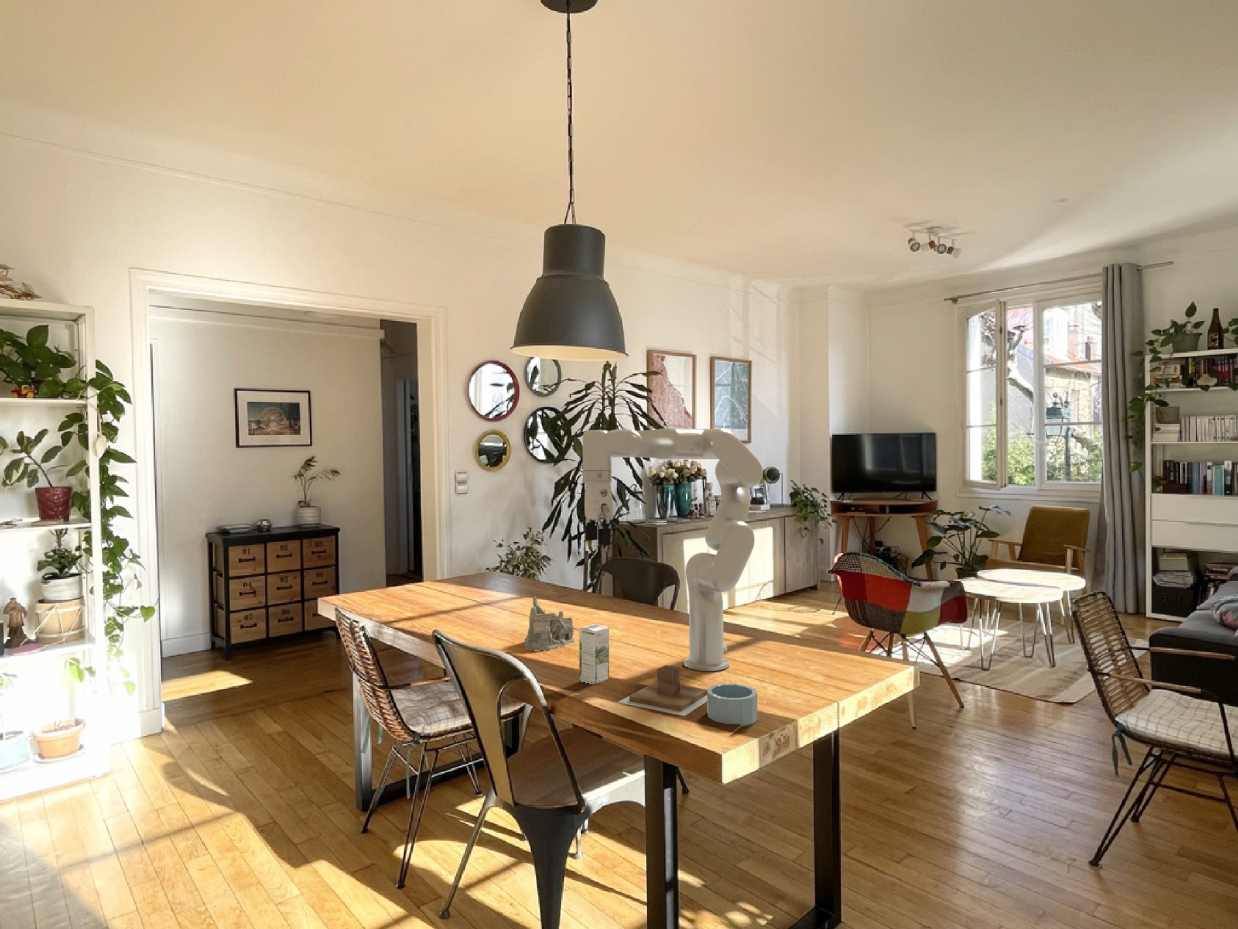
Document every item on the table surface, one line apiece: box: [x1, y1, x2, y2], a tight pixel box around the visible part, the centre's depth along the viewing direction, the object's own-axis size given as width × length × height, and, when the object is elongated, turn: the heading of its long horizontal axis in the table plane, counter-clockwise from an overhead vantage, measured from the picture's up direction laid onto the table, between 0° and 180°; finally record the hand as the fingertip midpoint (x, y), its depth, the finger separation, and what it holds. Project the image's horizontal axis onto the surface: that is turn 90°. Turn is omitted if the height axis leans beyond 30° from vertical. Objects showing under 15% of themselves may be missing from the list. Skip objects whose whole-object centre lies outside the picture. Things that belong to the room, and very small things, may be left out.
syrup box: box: [578, 623, 610, 685], centre depth 198 cm, size 6×6×14 cm
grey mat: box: [617, 681, 707, 717], centre depth 183 cm, size 18×18×1 cm
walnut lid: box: [628, 664, 708, 712], centre depth 183 cm, size 14×14×7 cm
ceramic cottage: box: [524, 596, 575, 651], centre depth 237 cm, size 16×16×15 cm
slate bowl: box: [706, 683, 758, 728], centre depth 171 cm, size 11×11×6 cm
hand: (597, 542), depth 198 cm, fingers open, 9 cm apart
